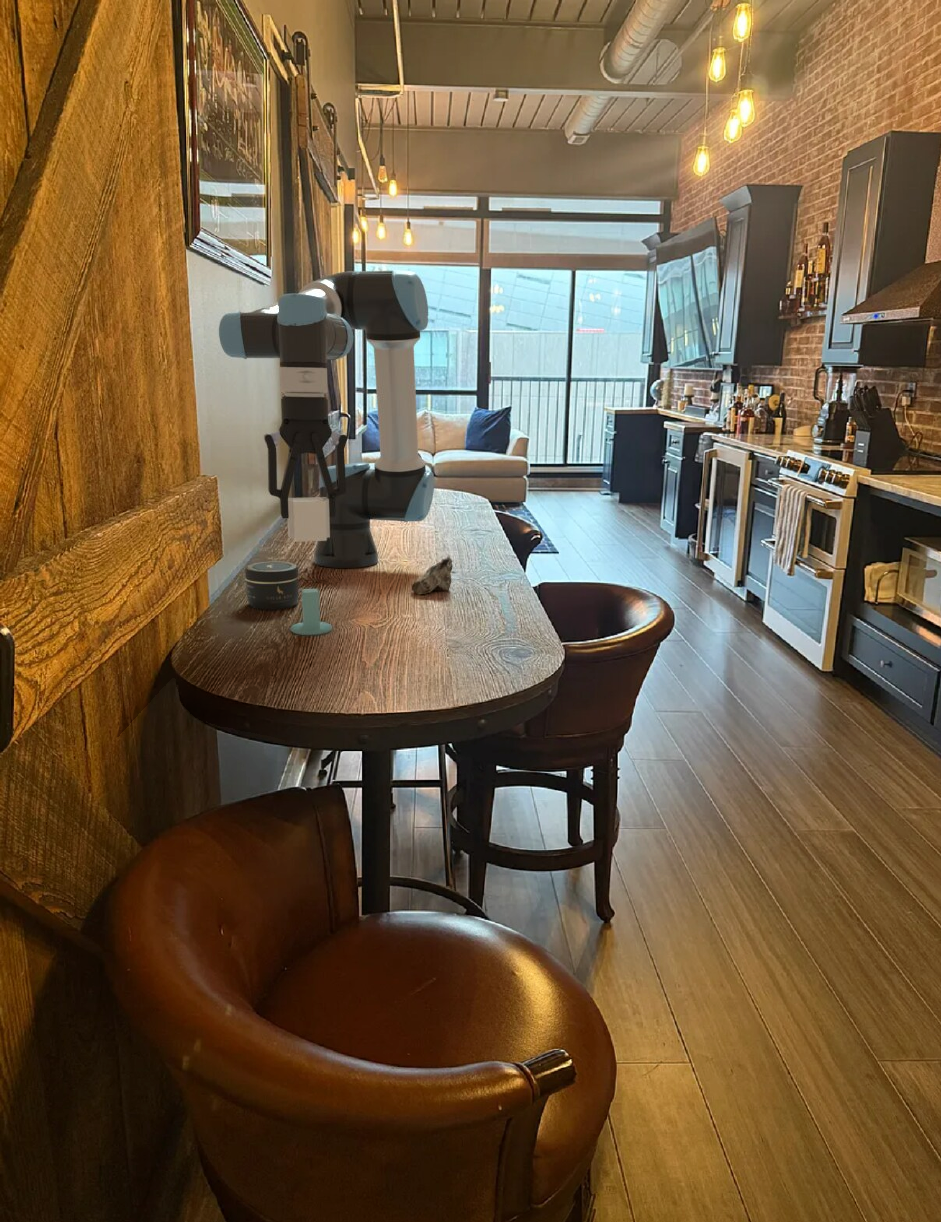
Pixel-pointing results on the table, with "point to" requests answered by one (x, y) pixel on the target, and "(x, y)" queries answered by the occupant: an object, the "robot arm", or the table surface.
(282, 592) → the jar
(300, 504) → the white rectangular block
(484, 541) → the table surface
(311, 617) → the teal post on base
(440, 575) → the rock
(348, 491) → the robot arm
